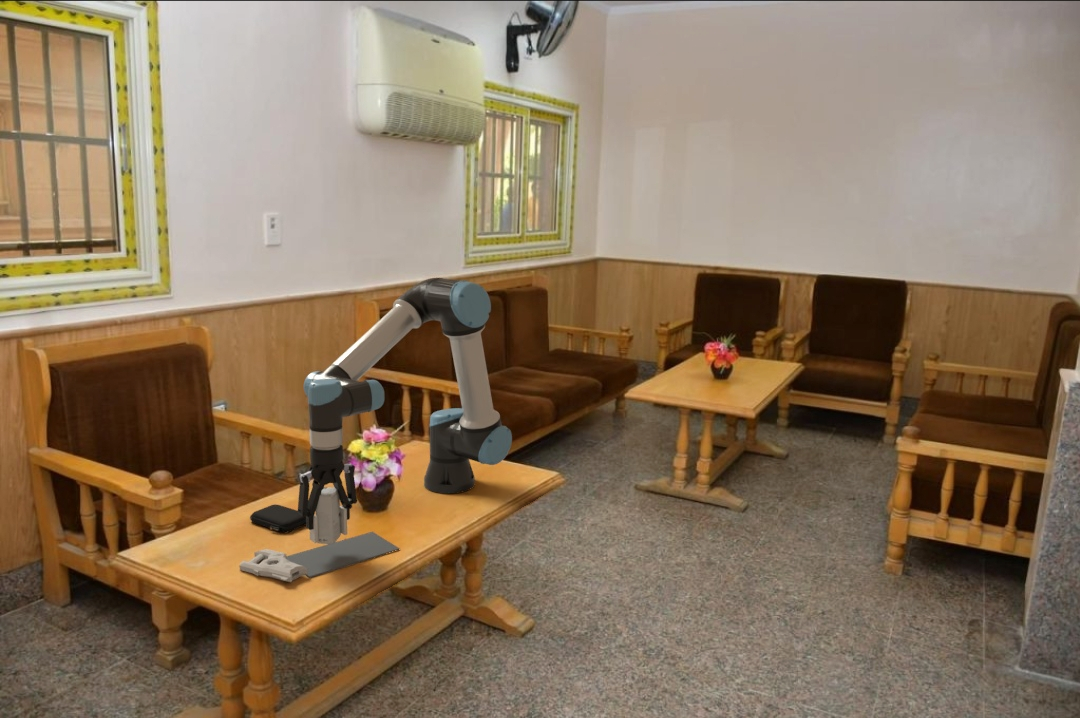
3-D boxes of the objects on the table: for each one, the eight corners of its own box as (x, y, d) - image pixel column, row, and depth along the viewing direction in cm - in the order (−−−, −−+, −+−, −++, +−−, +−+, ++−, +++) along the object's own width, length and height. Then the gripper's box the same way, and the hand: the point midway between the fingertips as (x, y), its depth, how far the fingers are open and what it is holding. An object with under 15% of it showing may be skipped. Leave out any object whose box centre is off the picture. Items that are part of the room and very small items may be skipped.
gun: (318, 557, 194) (286, 574, 185) (319, 571, 195) (288, 589, 186) (262, 543, 203) (229, 559, 194) (263, 557, 203) (230, 573, 195)
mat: (372, 532, 216) (372, 531, 216) (399, 549, 207) (399, 548, 207) (284, 558, 200) (284, 556, 200) (309, 578, 191) (309, 576, 191)
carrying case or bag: (243, 524, 220) (282, 537, 213) (242, 513, 220) (281, 526, 212) (275, 511, 229) (313, 524, 222) (274, 501, 229) (313, 513, 221)
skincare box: (334, 544, 198) (332, 496, 196) (315, 543, 198) (314, 495, 196) (341, 534, 204) (340, 487, 202) (323, 533, 204) (322, 486, 202)
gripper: (356, 434, 206) (357, 522, 210) (279, 449, 193) (282, 542, 197) (371, 441, 200) (373, 531, 205) (293, 457, 187) (296, 553, 192)
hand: (328, 536), depth 201 cm, fingers closed on skincare box, 7 cm apart
